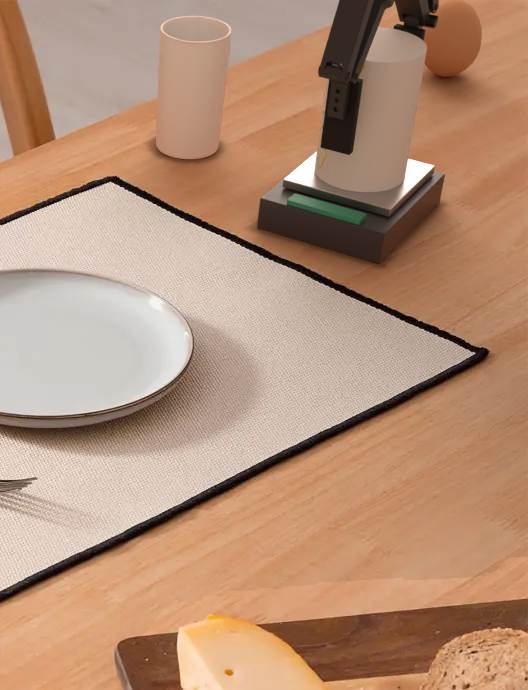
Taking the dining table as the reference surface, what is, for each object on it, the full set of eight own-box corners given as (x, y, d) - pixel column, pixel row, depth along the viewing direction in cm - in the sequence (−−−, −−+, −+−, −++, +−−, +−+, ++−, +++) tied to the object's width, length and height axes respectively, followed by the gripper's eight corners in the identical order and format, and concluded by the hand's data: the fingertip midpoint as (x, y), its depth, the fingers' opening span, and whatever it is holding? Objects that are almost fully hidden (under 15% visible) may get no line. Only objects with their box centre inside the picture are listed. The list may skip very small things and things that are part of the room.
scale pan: (434, 173, 143) (435, 165, 143) (389, 217, 136) (390, 209, 136) (330, 146, 148) (331, 138, 147) (282, 187, 141) (283, 179, 140)
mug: (213, 165, 151) (224, 45, 144) (146, 156, 153) (153, 37, 145) (232, 123, 159) (243, 8, 152) (167, 115, 160) (175, 0, 153)
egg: (414, 61, 172) (426, -13, 167) (474, 66, 171) (488, -9, 166) (413, 83, 167) (426, 8, 162) (474, 89, 166) (489, 13, 161)
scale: (439, 203, 145) (446, 169, 143) (379, 264, 136) (385, 228, 134) (322, 171, 150) (326, 137, 148) (256, 227, 141) (260, 193, 139)
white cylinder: (309, 151, 145) (326, 25, 137) (397, 153, 145) (418, 27, 137) (320, 191, 138) (337, 61, 131) (411, 193, 138) (434, 63, 131)
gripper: (420, -167, 135) (385, 68, 148) (295, -95, 119) (267, 163, 132) (504, -154, 132) (460, 85, 145) (387, -78, 115) (349, 185, 129)
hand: (368, 123), depth 138 cm, fingers open, 13 cm apart
